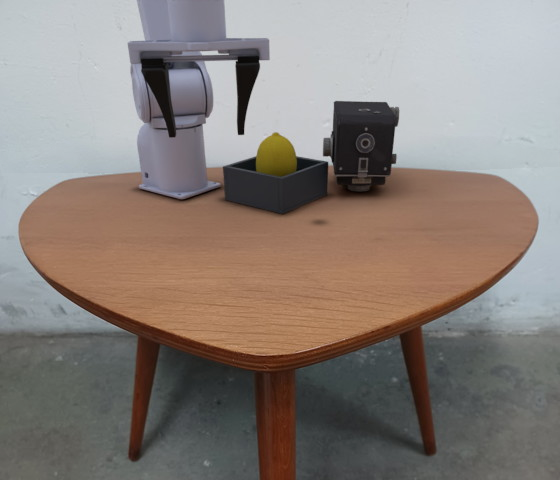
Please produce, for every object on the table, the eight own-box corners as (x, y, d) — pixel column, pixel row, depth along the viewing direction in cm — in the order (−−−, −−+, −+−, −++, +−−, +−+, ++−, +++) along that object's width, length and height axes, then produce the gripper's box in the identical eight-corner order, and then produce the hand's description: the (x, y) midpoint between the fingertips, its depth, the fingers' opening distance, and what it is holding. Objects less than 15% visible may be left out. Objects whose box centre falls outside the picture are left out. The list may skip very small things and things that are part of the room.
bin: (224, 199, 77) (222, 166, 74) (271, 183, 83) (270, 151, 81) (282, 214, 71) (282, 178, 69) (327, 194, 78) (328, 161, 75)
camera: (400, 205, 77) (386, 166, 88) (411, 119, 69) (395, 88, 81) (323, 205, 77) (319, 166, 88) (327, 119, 70) (322, 88, 81)
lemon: (256, 188, 79) (253, 128, 74) (294, 187, 79) (294, 127, 75) (258, 200, 74) (255, 137, 70) (298, 199, 75) (299, 136, 70)
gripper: (114, -11, 51) (138, 144, 59) (270, -13, 52) (273, 139, 60) (125, -10, 57) (145, 131, 65) (265, -13, 58) (268, 126, 66)
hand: (206, 134), depth 63 cm, fingers open, 7 cm apart
